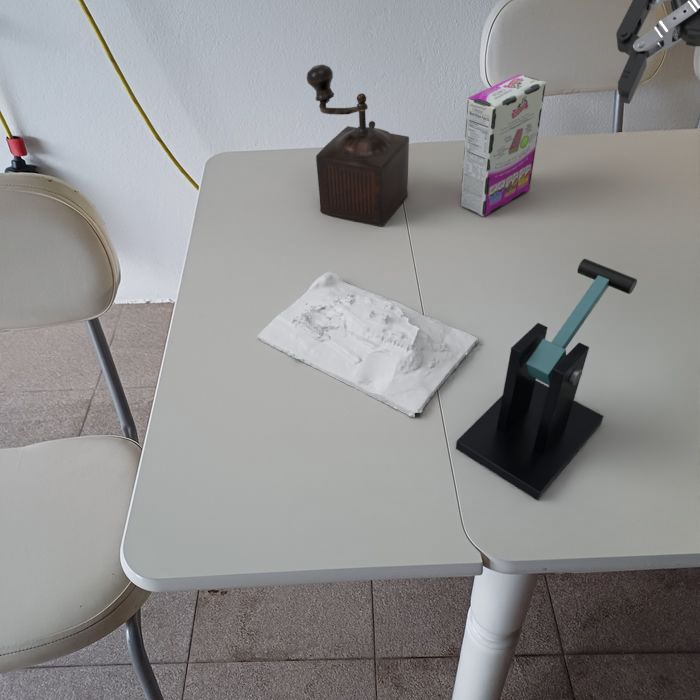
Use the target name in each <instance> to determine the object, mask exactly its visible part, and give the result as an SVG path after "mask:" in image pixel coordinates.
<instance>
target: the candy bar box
mask: <svg viewBox="0 0 700 700" xmlns="http://www.w3.org/2000/svg"><path fill="white" fill-rule="evenodd" d="M546 85H547V82H546V81H544V80H540V79H537V78H534V77H531V76H527V75H526V74H525V75H524V74H516V75H514V76H512V77H510V78H508V79H505V80H503V81H501V82H499V83H496V84H495V85H492V86H491V87H488V88H486V89H484V90H481V91H479V92H476V93H475V94H473V95H470V96H468V97H467V106H466V119H465V120H466V122H465V133H464V134H465V135H464V150H463V159H462V173H461V187H460V200H459V206H460V207H462V209H465V210H468V211H470V212H472V213H474V214H476V215H479V217H483V218H485V217H487V216H488V215H491V214H492V213H494V212H495V211H497V210H499V209H500V208H503V206H505V205H506V204H508V203H511V202H512V201H513V200H515V199H516V198H518V197H520V196H521V195H523V194H525V193H527V192H528V191H530V190H531V183H532V182H531V181H532V177H533V176H532V175H533V169H534V162H535V156H536V151H537V142H538V135H539V130H540V124H541V118H542V111H543V103H544V96H545V91H546Z"/></svg>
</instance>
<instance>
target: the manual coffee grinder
mask: <svg viewBox="0 0 700 700" xmlns="http://www.w3.org/2000/svg"><path fill="white" fill-rule="evenodd" d="M333 78H334V72H333V70H332V68H331V66H329V65H326V64H317V65H314V66H312V68H310V69H309V70H308V72H307V73H306V81H307V84H308V85H309V86H311V87H312V89H314V91H315V101H317V102H319V105H318V107H319V111H320V112H321V114H325V115H339V116H340V115H342V116H343V115H351V114H355V113H358V122H359V123H358V124H359V125H358V126H357V127H355V126H349V125H347V126H346V127H345V128H343V129H342V130H341V131H340V132H339V133H338V134H337V135H336V136H334V137H333V138H332V139H331V140H330V141H329V142H327V144H325V146H324V147H322V148H321V150H320V151H319V152H318V153H317V154H316V155H315V162H316V173H317V182H318V183H317V184H318V193H319V206H320V209H319V211H320V213H322V214H323V215H326V216H329V217H332V218H338V219H341V220H346V221H349V222H350V221H351V222H355V223H360V224H365V225H366V224H367V225H371V226H378V227H383V226H384V225H385V224H386V223H388V221H390V219H392V217H393V216H394V215H395V213H396V212H397V211H398V209H400V207H401V206H402V204H403V203H404V202H405V201H406V199H407V198H408V193H409V190H408V181H409V158H410V157H409V156H410V155H409V152H410V151H409V149H410V136H407V135H403V134H397V133H396V134H395V133H391V132H389V131H387V130H385V129H381V128H377V127H376V122H375V120H371V121H369V122H368V126H367V121H366V119H367V118H366V111H367V110H368V109H369V108H368V104H367V103H366V101H367V96H366V94H365V93H363V92H362V93H358V95H357V96H356V102H357V104H356V106H351V107H327V104H328V103H329V102H330V100H331V99H332V98H334V97H335V93H334V92H333V89H332V88H331V83H332V81H333Z"/></svg>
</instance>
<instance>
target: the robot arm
mask: <svg viewBox="0 0 700 700" xmlns="http://www.w3.org/2000/svg"><path fill="white" fill-rule="evenodd" d="M665 2H670V6H671V10H672V12H671V13H669V14H667V15H666V16H665V17H663V18H662V19H660V20H659V21H658V22H657V24H656V25H655V26H654V27H652V28H651V29H650V30H648V31H647V32H645V33H644V34H643V35H641V36H639V33H640V31H641V29H642V27H643V25H644V23H645V21H646V20H647V17H648V15H649V13H650V11H656V10H658V9H659V8H660V7H661V5H662V4H663V3H665ZM615 36H616V46H617V50H618V51H619V52H620V53H625V54H627V55H628V58H627V61H626V63H625V66H624V68H623V70H622V73H621V74H620V76H619V79H618V81H617V93H618V94H617V95H619V96H620V102H621V103H623V104H628V105H630V104H631V102H632V100H633V97H634V96H635V93H636V91H637V89H638V86H639V84H640V81H641V79H642V78H643V75H644V73H645V71H646V68H647V63H648V61H649V60H651V58H653V57H655V56H656V55H658V54H659V53H660V52H662V51H667V50H668V49H670V48H672V47H673V46H675V45H676V44H678V43H680V42H681V41H683V42H685V46H690V47H696V48H697V47H700V0H632V1H631V3H630V5H629V7H628V9H627V11H626V13H625V15H624V18H622V21H621V23H620V25H619V27H618V29H617V31H616V34H615Z"/></svg>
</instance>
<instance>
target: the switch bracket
mask: <svg viewBox="0 0 700 700" xmlns="http://www.w3.org/2000/svg"><path fill="white" fill-rule="evenodd" d="M548 329H549V328H548V326H547V325H544V324H542V323H540V322H537V323H536V324H535V325H534V326H533V327H532V328H531V329H529V330H528V331H527V332H526V333H525V334H524V335H523V336H522V337H521V338H520V339H519V340H518V341H517V342H515V344H513V345H512V346H511V348H510V351H509V352H510V353H509V359H508V365H507V368H506V375H505V380H504V385H503V391H502V395H501V396H500V397H499V398H498V399H497V400H496V401H495V402H494V403H493V404H492V405H491V406H490V407H489V408H488V409H487V410H486V411H485V412H484V413H482V415H481V416H480V417H479V418H478V419H477V420H475V422H474V423H473V424H472V425H471V426H470V427H468V429H467V430H466V431H465V432H463V434H461V436H460V437H459V438H458V439H457V440H456V443H455V449H456V450H457V451H459V452H460V453H462V454H463V455H465V456H467V457H468V458H470V459H471V460H473V461H474V462H476V463H478V464H479V465H481V466H483V468H486V469H487V470H489V471H490V472H492V473H494V474H495V475H496V476H498V477H500V478H501V479H503V480H504V481H506V482H508V483H509V484H511V485H512V486H514V487H516V488H517V489H518V490H520V491H522V492H523V493H524V494H527V495H528V496H530V497H531V498H533V499H534V500H536V501H539V500H540V498H541V497H542V496H543V495H544V494H545V492H546V491H547V490H548V489H549V488H550V487H551V485H552V484H553V483H554V481H555V480H556V479H557V478H558V477H559V475H560V474H561V473H562V472H563V471H564V470H565V468H566V467H567V466H568V464H570V462H571V461H572V459H574V457H575V456H576V455H577V454H578V453H579V451H580V450H581V449H582V448H583V447H584V445H585V444H586V442H588V440H589V439H590V438H591V437H592V435H593V434H594V433H595V432H596V430H597V429H598V428H599V427H600V426H601V424H602V422H603V419H604V415H603V414H601V413H599V412H597V411H595V410H593V409H591V408H589V407H588V406H585V405H584V404H581V403H580V402H578V401H576V400H575V397H576V394H577V391H578V388H579V385H580V384H579V383H580V380H581V378H582V375H583V371H584V367H585V364H586V360H587V357H588V354H589V349H590V346H588V345H586V344H584V343H582V342H578V343H577V344H576V345H575V346H574V347H573V348H572V349H571V350H570V351H569V352H568V353H566V356H565V357H564V358H563V359H562V360H561V361H560V362H559V364H558V365H557V366H556V367H555V368H554V369H553V372H552V376H551V380H550V384H549V385H547V384H545V383H543V382H541V381H540V382H539V380H537V379H536V378H534V377H532V376H530V375H529V374H528V370H527V365H526V363H527V361H528V360H529V358H530V357H531V356H532V354H533V353H534V351H535V350H536V348H537V347H538V346H539V344H540V343H541V341H542V340H543V339H545V340H546V337H547V332H548Z"/></svg>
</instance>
